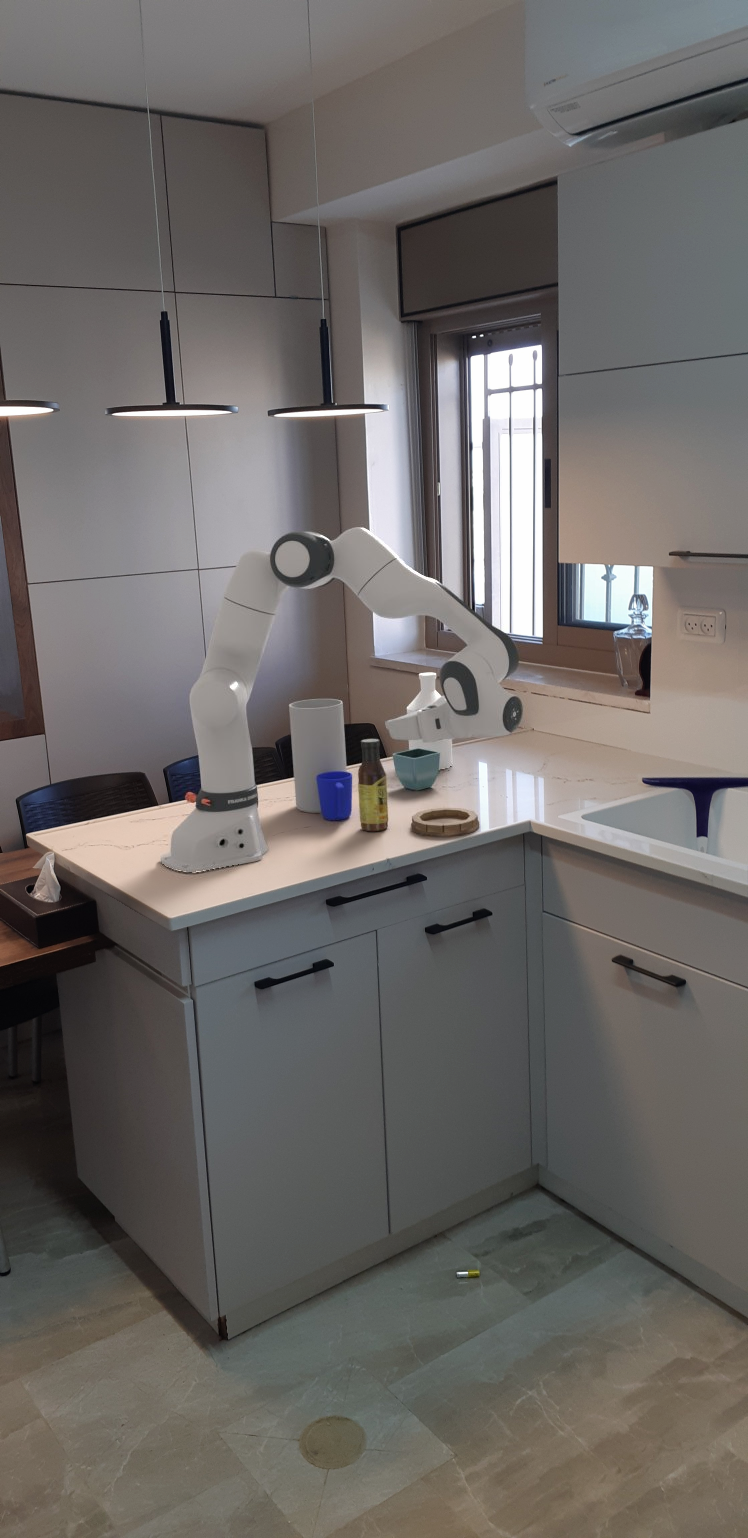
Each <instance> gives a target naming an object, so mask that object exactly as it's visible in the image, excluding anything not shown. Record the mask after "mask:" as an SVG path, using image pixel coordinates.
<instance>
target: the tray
mask: <svg viewBox="0 0 748 1538" xmlns="http://www.w3.org/2000/svg"><path fill="white" fill-rule="evenodd" d="M479 828H480V821H479V815H478V814H477V813H476V812H475V811H474V810H471V809H470V810H469V809H466V808H461V807H459V808H458V807H438V808H431V809H426V810H421V811H419V812H416V813H415V814H413V816H411V823H410V830H411V832H413V833H415V834H418V835H421V836H426V837H432V836H433V837H434V838H435V837H436V838H441V837H442V838H449V837H458V836H464V835H467V834H468V835H469V834H471V833H474V832H476V831H477V830H478V829H479ZM475 830H476V831H475ZM473 831H474V832H473ZM433 837H432V838H433Z"/></svg>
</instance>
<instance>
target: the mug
mask: <svg viewBox="0 0 748 1538" xmlns="http://www.w3.org/2000/svg"><path fill="white" fill-rule="evenodd" d="M316 779H317V786H318V793H319V800H320V807H321V813H320V814H321V816H322V817H323V819H324V820H328V821H342V820H346V819H348V818H349V817H350V816H351V815H352V810H353V809H352V807H353V806H352V805H353V804H352V803H353V801H352V800H353V774H352V773H351V772H350V771H349V772H348V771H347V772H343V771H334V772H326V773H322V774H319V775H317V777H316Z"/></svg>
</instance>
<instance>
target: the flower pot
mask: <svg viewBox="0 0 748 1538" xmlns="http://www.w3.org/2000/svg"><path fill="white" fill-rule="evenodd" d="M391 756H392V762H393V766H394V770H395V774H396V777H397V778H398V781H399V782H400V783H401V785H402V787H403V788H404V789H409V790H411V791H412V790H413V791H421V790H424V789H428V788H432V787H433V785H434V784H435V781H436V779H437V777H438V774H439V771H440V770H439V760H440V752H437V751H431V750H426V749H421V748H416V749H411V750H409V749H407V750H403V751H400V752H394V753H392V755H391Z"/></svg>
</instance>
